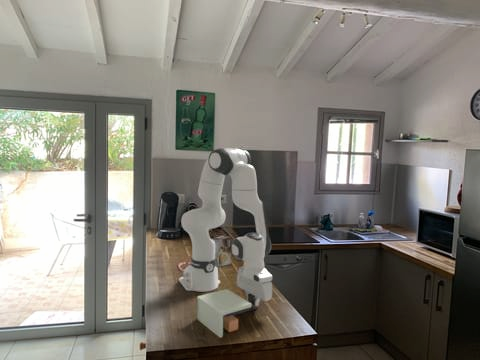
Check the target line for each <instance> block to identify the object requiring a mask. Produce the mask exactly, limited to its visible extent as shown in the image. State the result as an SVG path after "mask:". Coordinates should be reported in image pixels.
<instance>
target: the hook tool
mask: <svg viewBox="0 0 480 360" xmlns="http://www.w3.org/2000/svg"><path fill="white" fill-rule="evenodd" d="M255 300H256V298H255V296H254V295H252V294H248V302H250V303H251V304H252V307H249V308H246V309H243V310H239V311H236V312H233V313H229V314H226V315H223V322H224V317H228V316H231V315H233V316H234V317H235V316H236V315H240V314H243V313H247V312H249V311H255V310H258V309H259V305H258V306H255V305H254V301H255Z"/></svg>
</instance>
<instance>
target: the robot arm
mask: <svg viewBox="0 0 480 360" xmlns="http://www.w3.org/2000/svg"><path fill="white" fill-rule="evenodd" d="M251 157H252V156H251V154H250V152H249V151H247V150H246V149H243V148H236V147H235V148H234V147H227V148H226V147H225V148H222V147H221V148H216V149H213V150H212V151H210V153H209V155H208V158H207V159H206V161H205V163H204V165H203V168H202V170H201V174H200V180H199V185H198V190H197V195H198V198H200V199H201V201H202V202H201V203H202V205H201V207H199V208H193V209H191V210H188V211H186V212H184V213H183V214H182V216H181V219H180V220H181V221H180V223H181V227H182V229H183V230H184V231H185V232H186V233H187V234H188V235H189V237H190V241H191V246H192V247H191V248H192V249H191V250H192V257H191V256H190V259H189V260H190V262H189V263H190V265H189V264H188V266H187V267H186V268H184V269H183V270H184V272H182V276H181V277H179V279H178V282H179V283H180V284H181V286H182V287H183V288H184V289H185V290H186V291H189V292H190V291H193V292H194V291H195V292H200V293H201V292H211V291H214V290H217V289H218V287H219V285H220V284H221V280H219V271H218V270H219V267H218V266H216V258H215V242H214V240H213V238H211V237H210V233H209V230H213V229H216V228H218V227H220V226H222V225H223V224H224V223H225V222H226V217H227V216H226V212H225V210H224V209H223V207H222V202H221V201H222V200H221V199H222V193H223V187H224V184H225V183H224V182H225V178H226V176H227V175H229V176H230V178H231V198H232V202H233V203H234V205H235V206H236V207H237V208H239V209H240V210H244V211H247V212H249V213H251V214H252V215H253V217H254V223H255V230H256V232H248V233H246V234H245V235H244V236H239V237H236V238H234V239H233V240H232V241H231V256H233V257H234V258H235V259H236V260H239V261H241V260H242V261H243V266H240V267H239V269H238V272H237V276H236V286H237V287H238V288H240V289H241V290H243V291H245V296H246V301H248V294H252V295H254V296H255V298H256V300H255V301H254V305H255V306H258V307H259V305H260V301H263V302H267V301H270V300H271V299H272V297H273V284H272V281H273V275H272V274H271V273H270V272H269V271H268V270H267V268H266V267H265V262H264V260H265V258H266V257H267V256H268V255H269V254H270V253H271V250H272V241H271V238H270V235H269V228H268V223H267V213H266V209H265V205H264V202H263V201H262V200H261V199H260V198H259V195H258V181H257V180H258V179H257V174H256V173H257V172H256V169H255V167H254V166H253V165H251V163H252V158H251Z"/></svg>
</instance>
